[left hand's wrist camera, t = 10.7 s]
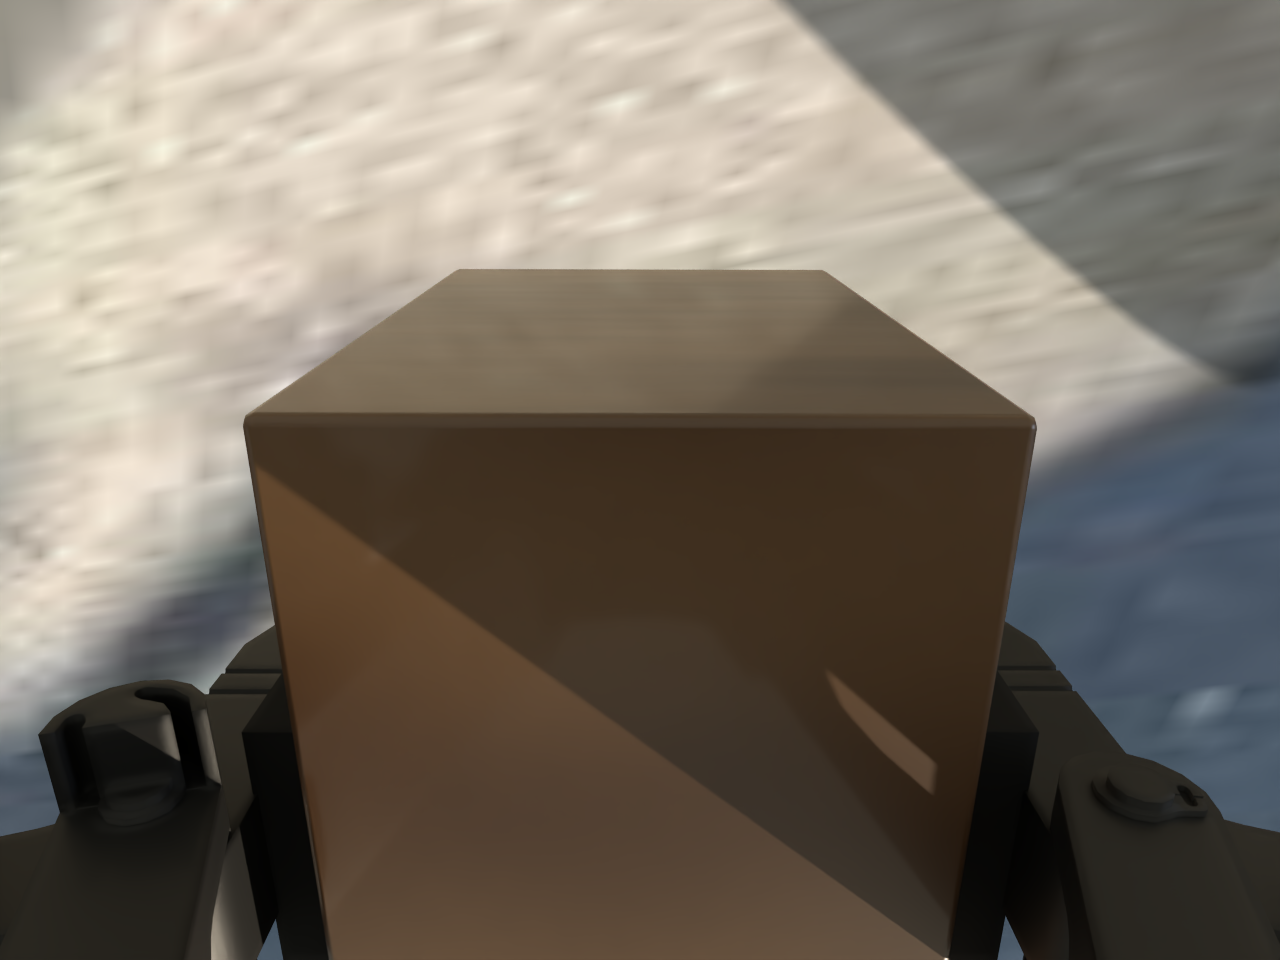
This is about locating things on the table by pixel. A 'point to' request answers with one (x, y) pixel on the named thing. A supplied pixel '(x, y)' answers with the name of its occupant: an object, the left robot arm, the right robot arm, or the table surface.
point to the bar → (639, 618)
